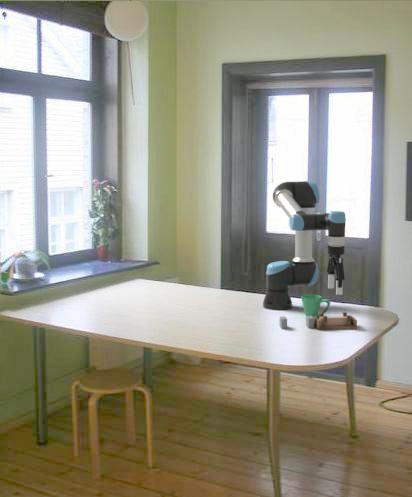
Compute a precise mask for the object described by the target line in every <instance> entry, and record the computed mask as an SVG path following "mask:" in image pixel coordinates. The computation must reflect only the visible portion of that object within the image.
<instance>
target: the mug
mask: <svg viewBox="0 0 412 497" xmlns="http://www.w3.org/2000/svg"><path fill="white" fill-rule="evenodd" d="M322 298H323V297H322V296H321V295H319V294H304V295H301V302H302V308H303V312H304V313H305V314H304V315H305V317H306V316H312V317H313V318H314V316H316V317H320V313H324V314H325V313H327V312H328V311H329V310H330V306H331V302H330V299H324V298H323V299H322ZM322 303H326V306H327V307H326V308H325V309H324V310H323V311H322V312H319V310H320V308H321V307H320V306H321V304H322Z"/></svg>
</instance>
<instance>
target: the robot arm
mask: <svg viewBox="0 0 412 497" xmlns="http://www.w3.org/2000/svg"><path fill="white" fill-rule="evenodd" d="M272 200H273V202H274V204H275V206H277V207H279V208H281V209H282V210H283V212H284V213H285V215H286V216H287V217H288V219H289V220H288V221H289V222H288V223H289V224H288V226H289V229H290V230H291V231H295V234H294V235H295V236H294V238H295V239H294V240H295V242H294V244H295V245H294V246H295V247H294V250H295V252H294V254H295V255H294V258H293V259H292V260H291V261H292V262H291V263H290V262H289V261H287V260H279V261H274V262H270V263H269V264H268V265H267V266H266V272H265V274H266V290H265V291H266V292H265V295H264V297H263V301H262V306H263V308H265V309H269V310H277V311H278V310H288V309H291V308H292V307H293V302H292V298H291V294H290V287H301V286H302V287H309V286H313V285H315V284H316V283H317V281H318V278H319V275H320V274H319V273H320V270H319V265H318V263H317V262H316V261H315V259H314V258H313V231H327V238H326V240H327V254H328V263H327V268H326V269H327V270H326V272H327V274H328V276H327V278H328V280H327V288H328V289H330V290H331V289H335V290H336V291H335V295H337V296H338V295H339V296H340V295H341V296H342V295H343V291H344V290H343V288H344V286H343V285H344V283H343V282H344V281H345V271H344V259H343V258H344V257H341V256H343V255H345V250H346V249H345V245H346V220H347V219H346V212H344V211H339V210H333V211H329V212H323V213H313V211H314V210H315V209H316V205H317V204H319V202H320V190H319V187H318V185H317V184H316V183H315V182H314V181H307V180H305V181H285V182H284V181H283V182H281V183H279V184H278V185H277V186H276V187H275V189H274V190H273V193H272ZM335 275H336V278H335ZM335 282H336V284H335Z"/></svg>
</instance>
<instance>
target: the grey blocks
mask: <svg viewBox="0 0 412 497" xmlns="http://www.w3.org/2000/svg"><path fill="white" fill-rule="evenodd" d="M305 326H306V327H307V329H315V326H314V318H313V317H312V316H306V315H305ZM279 327H280V328H281V329H282V330H285V329H288V318H287V317H286V316H279Z"/></svg>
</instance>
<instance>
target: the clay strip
mask: <svg viewBox="0 0 412 497" xmlns="http://www.w3.org/2000/svg"><path fill="white" fill-rule="evenodd" d="M318 317H319V318H318V319H319V320H320V321H321V326H323V317H320V316H318ZM331 325H347V316H343V315H342V316H341V315H340V316H335V315H334V316H332V315H331V316H327V326H331Z"/></svg>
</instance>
